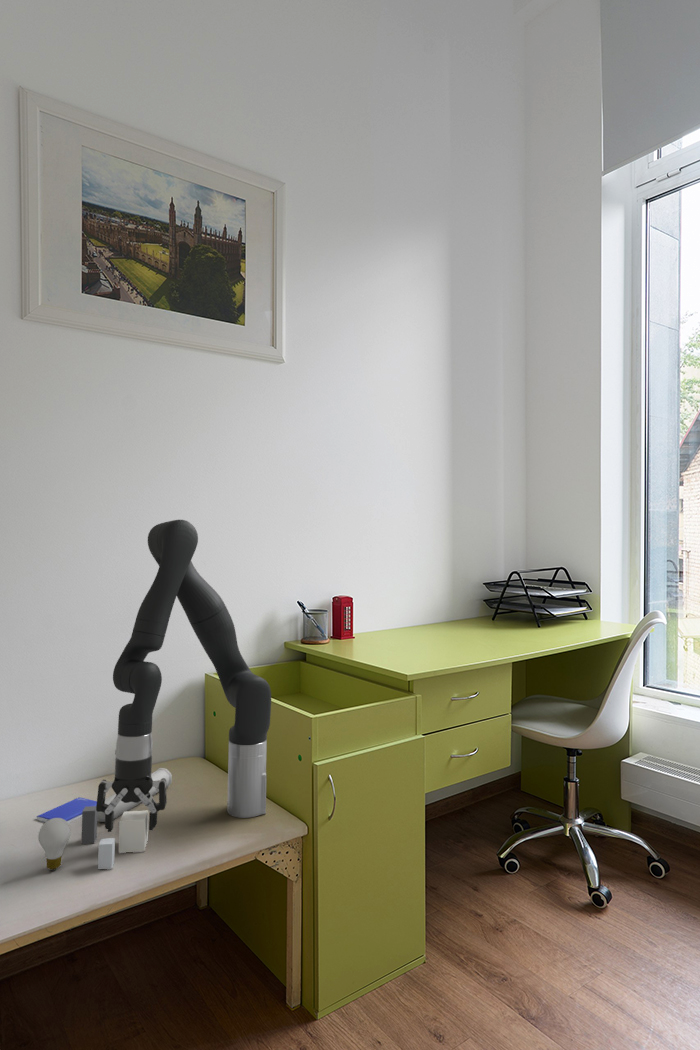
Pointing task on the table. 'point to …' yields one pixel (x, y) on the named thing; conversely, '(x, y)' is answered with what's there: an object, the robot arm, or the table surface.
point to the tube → (127, 806)
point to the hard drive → (67, 810)
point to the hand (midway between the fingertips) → (130, 829)
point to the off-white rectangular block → (133, 831)
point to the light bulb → (54, 840)
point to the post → (89, 825)
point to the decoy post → (106, 853)
